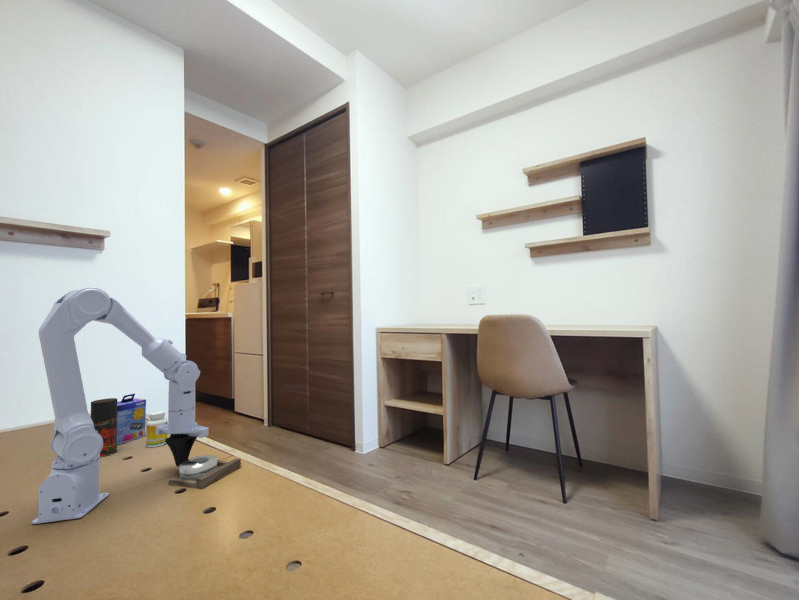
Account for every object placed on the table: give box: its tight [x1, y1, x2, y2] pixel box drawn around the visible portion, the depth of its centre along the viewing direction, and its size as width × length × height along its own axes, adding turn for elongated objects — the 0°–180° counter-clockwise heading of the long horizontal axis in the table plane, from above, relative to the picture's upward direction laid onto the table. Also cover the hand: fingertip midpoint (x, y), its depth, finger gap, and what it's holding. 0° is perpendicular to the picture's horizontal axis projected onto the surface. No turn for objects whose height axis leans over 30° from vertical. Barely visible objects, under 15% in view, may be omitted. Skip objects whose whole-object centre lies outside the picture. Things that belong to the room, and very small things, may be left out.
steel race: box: [178, 454, 218, 481], centre depth 87 cm, size 8×8×3 cm
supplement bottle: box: [145, 410, 168, 448], centre depth 109 cm, size 5×5×10 cm
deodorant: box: [90, 397, 118, 458], centre depth 103 cm, size 6×6×15 cm
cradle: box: [167, 457, 242, 490], centre depth 86 cm, size 10×12×2 cm
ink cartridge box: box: [117, 393, 147, 446], centre depth 115 cm, size 10×6×14 cm, turn 163°
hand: (181, 465), depth 88 cm, fingers closed
